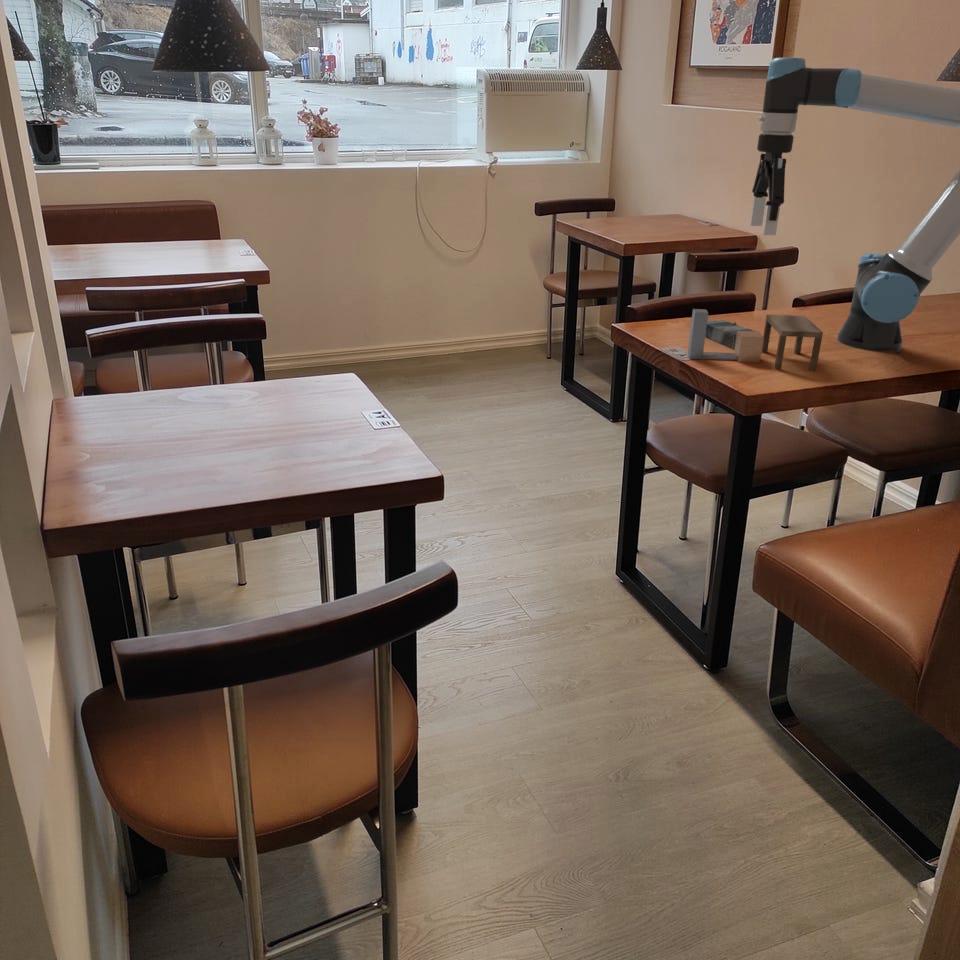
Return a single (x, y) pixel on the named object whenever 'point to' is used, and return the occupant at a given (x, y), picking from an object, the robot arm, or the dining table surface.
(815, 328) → the small grey table
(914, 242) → the robot arm
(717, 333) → the stone block
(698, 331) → the grey l-shaped piece
